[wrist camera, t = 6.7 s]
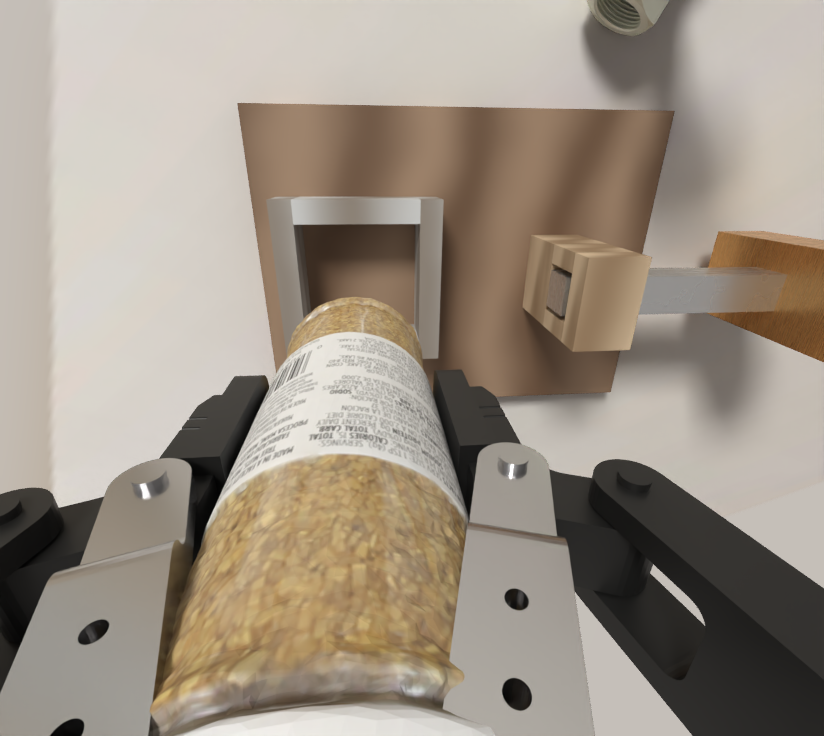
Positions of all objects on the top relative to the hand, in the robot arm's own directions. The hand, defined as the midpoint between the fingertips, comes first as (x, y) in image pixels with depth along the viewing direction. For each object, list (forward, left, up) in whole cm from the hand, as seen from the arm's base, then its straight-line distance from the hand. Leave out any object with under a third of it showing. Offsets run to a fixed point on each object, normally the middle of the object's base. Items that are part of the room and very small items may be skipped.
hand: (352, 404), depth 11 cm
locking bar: (-18, 0, -16) cm, 24 cm away
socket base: (-6, 0, -18) cm, 19 cm away
